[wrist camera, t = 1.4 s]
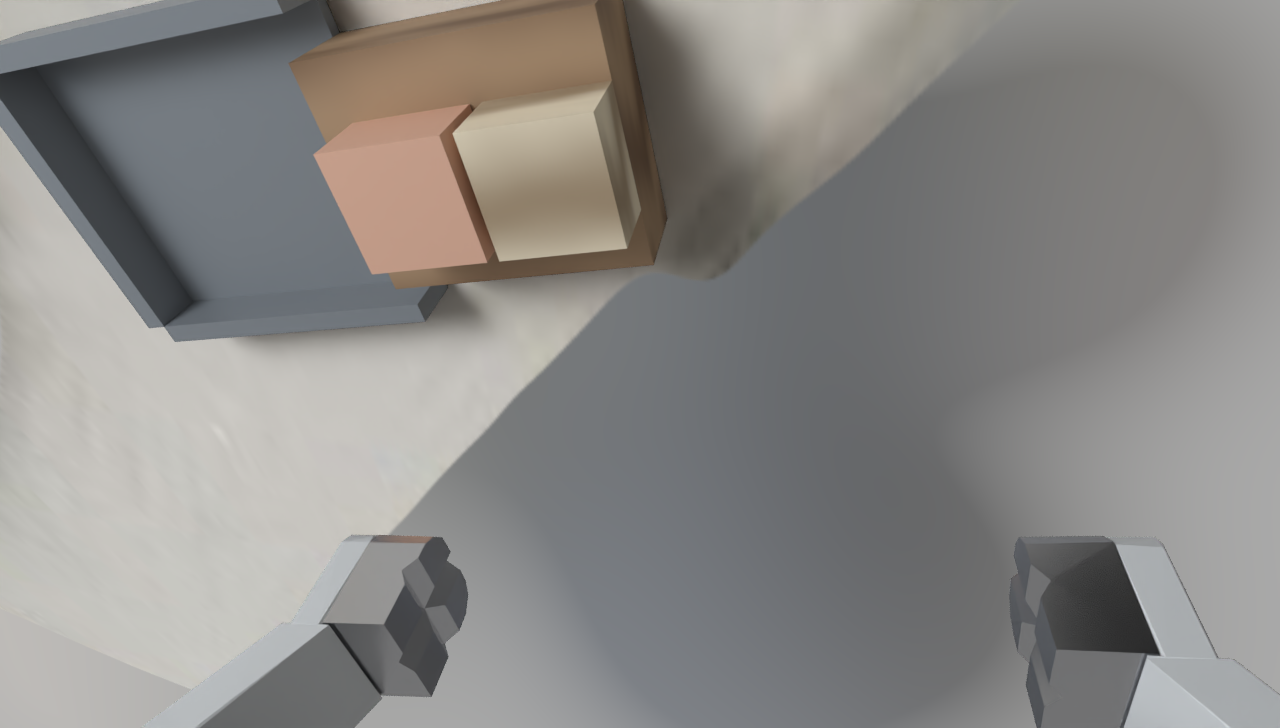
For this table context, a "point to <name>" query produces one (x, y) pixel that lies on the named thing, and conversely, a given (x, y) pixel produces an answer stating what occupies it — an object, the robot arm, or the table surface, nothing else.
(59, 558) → the table surface
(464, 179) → the salmon pink square block
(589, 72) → the brown wooden slab
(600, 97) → the cream wooden block
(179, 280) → the tray
